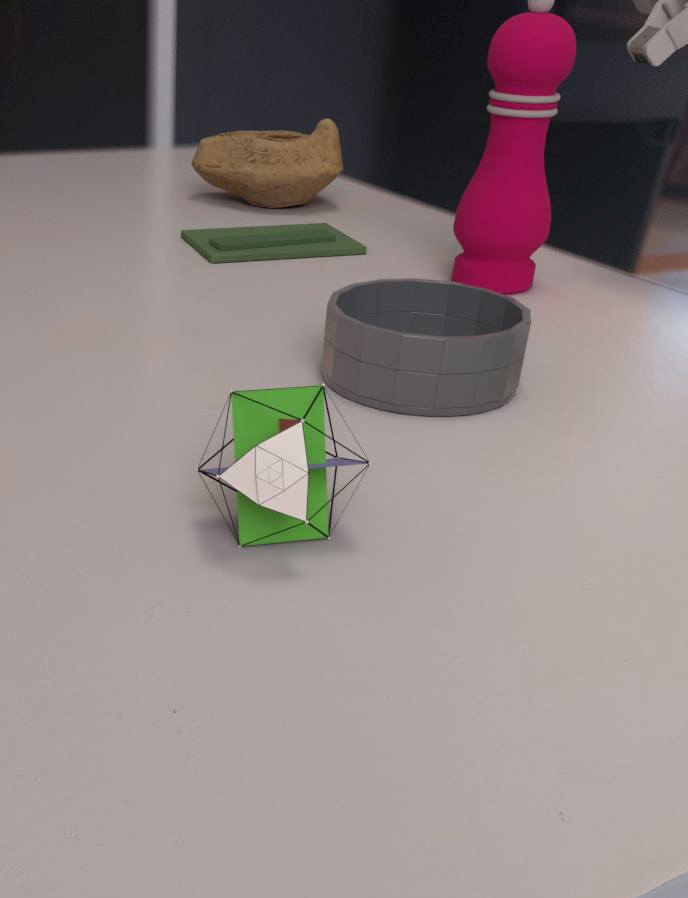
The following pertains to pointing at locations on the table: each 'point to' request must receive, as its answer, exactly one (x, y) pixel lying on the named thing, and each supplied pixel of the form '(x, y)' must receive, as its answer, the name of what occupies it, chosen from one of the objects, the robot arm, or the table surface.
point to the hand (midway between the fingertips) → (639, 57)
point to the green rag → (271, 242)
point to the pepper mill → (514, 153)
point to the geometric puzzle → (280, 465)
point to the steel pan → (424, 346)
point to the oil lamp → (271, 164)
